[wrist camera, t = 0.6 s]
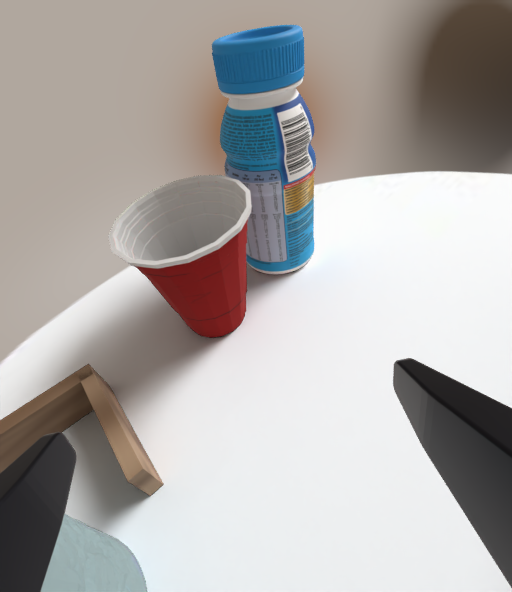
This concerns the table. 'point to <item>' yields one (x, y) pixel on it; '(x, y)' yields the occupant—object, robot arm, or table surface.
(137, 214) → the plastic cup
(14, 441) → the walnut bay
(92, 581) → the green plant pot
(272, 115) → the beverage bottle
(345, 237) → the table surface
